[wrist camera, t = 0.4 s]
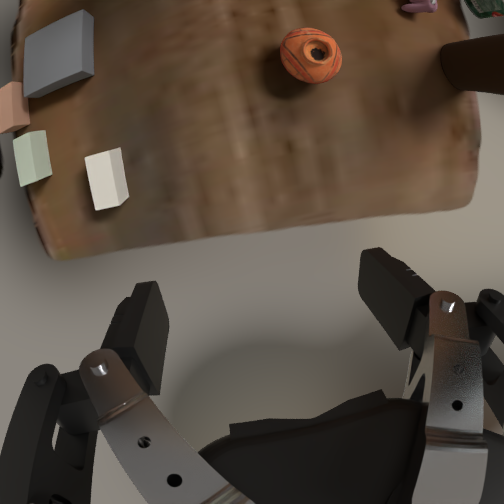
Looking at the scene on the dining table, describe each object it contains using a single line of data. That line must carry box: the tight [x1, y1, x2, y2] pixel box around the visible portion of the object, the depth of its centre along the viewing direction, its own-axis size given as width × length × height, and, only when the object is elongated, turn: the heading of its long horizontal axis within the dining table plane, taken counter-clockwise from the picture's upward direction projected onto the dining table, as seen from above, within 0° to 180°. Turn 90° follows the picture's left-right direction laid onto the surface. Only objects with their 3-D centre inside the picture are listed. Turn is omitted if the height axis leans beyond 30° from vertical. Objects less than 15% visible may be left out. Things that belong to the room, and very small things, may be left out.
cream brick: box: [85, 148, 129, 210], centre depth 32 cm, size 7×4×4 cm, turn 5°
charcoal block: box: [24, 9, 94, 98], centre depth 23 cm, size 10×10×4 cm
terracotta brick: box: [0, 82, 30, 134], centre depth 24 cm, size 7×4×4 cm, turn 5°
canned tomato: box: [464, 0, 504, 19], centre depth 18 cm, size 8×8×11 cm
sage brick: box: [13, 130, 52, 187], centre depth 28 cm, size 7×4×4 cm, turn 5°
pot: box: [280, 28, 342, 84], centre depth 28 cm, size 8×8×7 cm
